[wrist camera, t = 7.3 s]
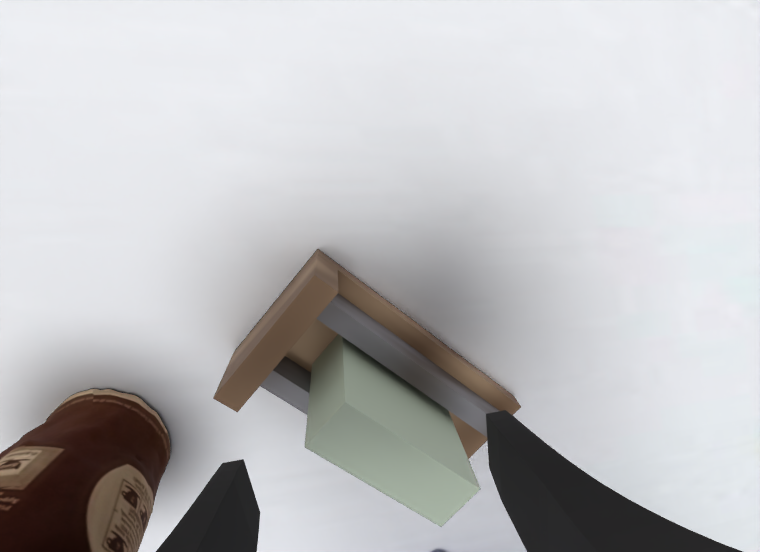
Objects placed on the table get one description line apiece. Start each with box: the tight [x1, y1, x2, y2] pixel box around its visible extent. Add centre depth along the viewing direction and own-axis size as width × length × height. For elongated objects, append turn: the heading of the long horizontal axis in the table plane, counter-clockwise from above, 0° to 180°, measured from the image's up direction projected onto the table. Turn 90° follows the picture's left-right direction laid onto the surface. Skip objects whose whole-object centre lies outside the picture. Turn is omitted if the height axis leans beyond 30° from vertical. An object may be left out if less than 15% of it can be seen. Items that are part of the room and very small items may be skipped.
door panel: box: [305, 334, 480, 527], centre depth 20 cm, size 7×2×6 cm, turn 50°
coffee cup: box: [0, 389, 170, 552], centre depth 17 cm, size 9×8×13 cm
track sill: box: [214, 249, 521, 459], centre depth 22 cm, size 14×7×4 cm, turn 50°
